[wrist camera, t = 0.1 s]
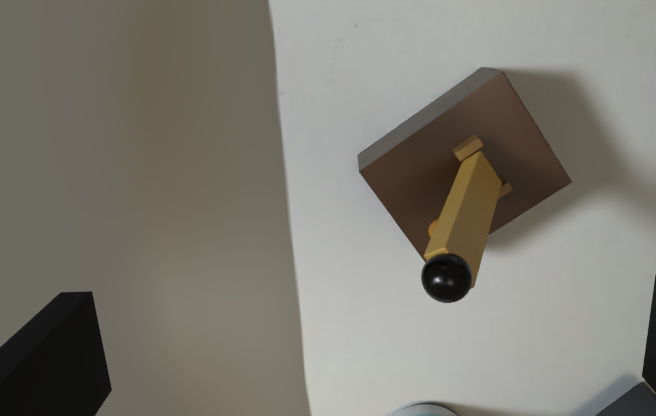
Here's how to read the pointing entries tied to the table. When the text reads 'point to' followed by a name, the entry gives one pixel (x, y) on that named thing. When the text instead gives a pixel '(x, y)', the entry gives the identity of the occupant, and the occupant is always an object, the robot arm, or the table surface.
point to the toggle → (461, 231)
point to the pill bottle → (425, 411)
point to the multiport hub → (633, 403)
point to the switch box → (462, 156)
